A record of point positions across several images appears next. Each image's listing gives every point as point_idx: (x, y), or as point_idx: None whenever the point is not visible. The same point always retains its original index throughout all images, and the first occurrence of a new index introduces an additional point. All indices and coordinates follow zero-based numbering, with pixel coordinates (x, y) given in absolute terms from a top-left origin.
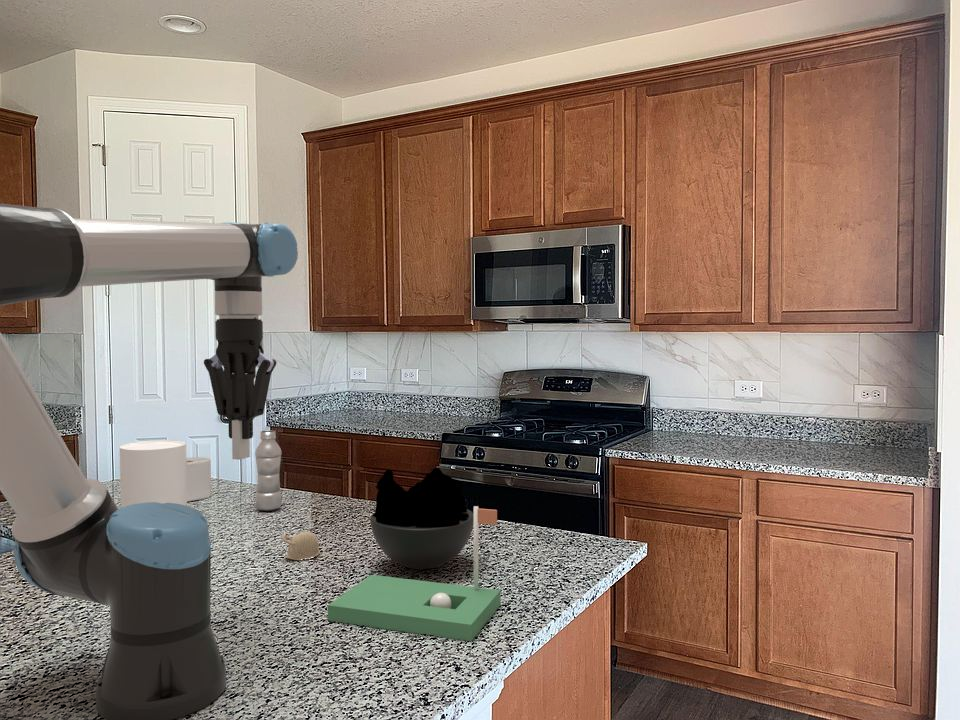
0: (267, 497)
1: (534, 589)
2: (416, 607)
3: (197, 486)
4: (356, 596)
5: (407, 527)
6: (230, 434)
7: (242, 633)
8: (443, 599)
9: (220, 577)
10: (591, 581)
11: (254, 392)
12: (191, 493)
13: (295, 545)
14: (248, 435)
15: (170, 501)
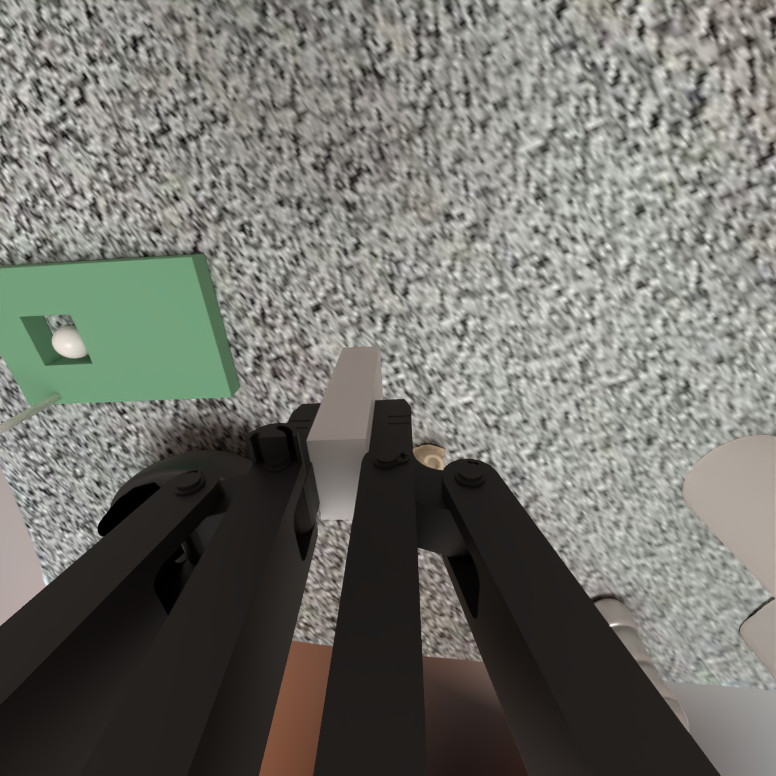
0: (608, 619)
1: (54, 454)
2: (70, 302)
3: (771, 638)
4: (181, 308)
5: (167, 478)
6: (398, 408)
7: (286, 148)
8: (52, 337)
9: (492, 347)
10: (20, 497)
11: (24, 655)
12: (771, 621)
13: (422, 459)
14: (292, 416)
15: (747, 515)
